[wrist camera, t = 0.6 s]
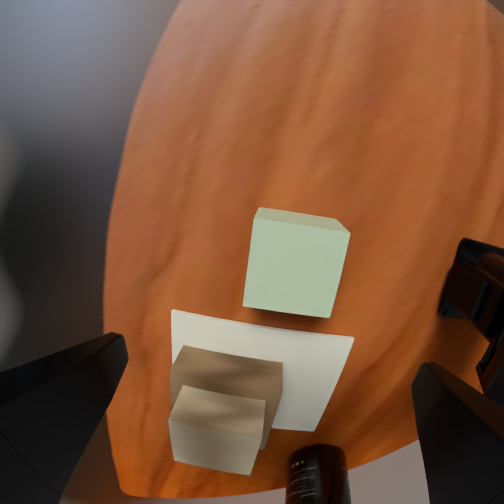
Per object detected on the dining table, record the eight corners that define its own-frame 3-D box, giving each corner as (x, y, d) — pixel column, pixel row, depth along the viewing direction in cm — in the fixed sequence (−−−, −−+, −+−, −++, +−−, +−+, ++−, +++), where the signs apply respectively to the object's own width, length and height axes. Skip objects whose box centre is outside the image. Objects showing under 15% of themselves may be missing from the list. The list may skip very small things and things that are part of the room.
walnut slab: (282, 362, 21) (282, 393, 17) (266, 421, 23) (264, 449, 20) (183, 344, 21) (169, 372, 18) (184, 406, 24) (174, 432, 20)
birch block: (265, 400, 18) (262, 438, 15) (254, 442, 20) (249, 475, 16) (182, 385, 18) (168, 419, 15) (184, 429, 20) (174, 460, 17)
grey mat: (353, 336, 20) (354, 338, 20) (313, 429, 24) (314, 431, 23) (172, 308, 21) (171, 310, 20) (176, 408, 24) (175, 409, 24)
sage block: (335, 218, 18) (350, 233, 14) (321, 289, 19) (329, 318, 15) (259, 206, 18) (254, 217, 14) (250, 278, 19) (242, 306, 16)
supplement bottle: (356, 452, 25) (367, 536, 13) (312, 473, 27) (313, 549, 15) (320, 435, 24) (326, 534, 13) (274, 458, 26) (267, 544, 14)
